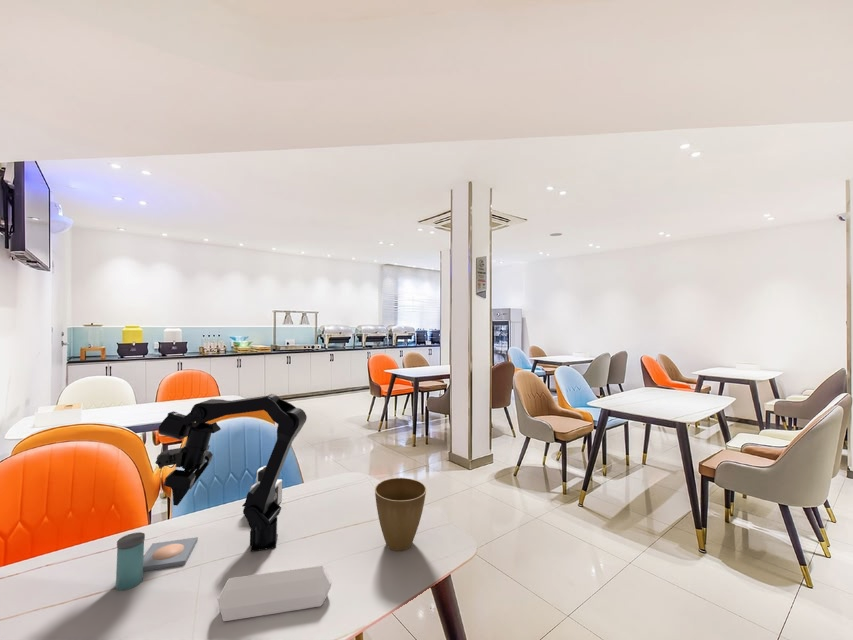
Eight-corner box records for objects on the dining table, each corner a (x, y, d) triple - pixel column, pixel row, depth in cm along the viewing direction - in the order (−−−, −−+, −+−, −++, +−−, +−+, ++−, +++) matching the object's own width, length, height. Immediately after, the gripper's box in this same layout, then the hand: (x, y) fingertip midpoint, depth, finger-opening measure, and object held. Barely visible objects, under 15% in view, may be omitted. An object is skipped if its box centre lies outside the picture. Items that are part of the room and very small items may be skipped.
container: (282, 501, 129) (283, 464, 130) (270, 511, 122) (271, 472, 122) (261, 499, 130) (262, 463, 130) (249, 510, 122) (250, 471, 123)
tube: (146, 573, 90) (148, 531, 90) (137, 588, 85) (139, 542, 86) (121, 577, 89) (123, 534, 89) (110, 592, 84) (112, 546, 84)
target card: (197, 540, 104) (197, 536, 104) (185, 564, 94) (185, 560, 94) (152, 547, 101) (152, 543, 101) (134, 572, 91) (134, 568, 91)
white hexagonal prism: (332, 563, 90) (225, 577, 84) (332, 564, 84) (217, 579, 78) (331, 600, 86) (219, 618, 80) (331, 604, 80) (210, 623, 74)
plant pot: (364, 554, 100) (366, 495, 100) (385, 526, 114) (386, 475, 114) (416, 564, 96) (417, 503, 96) (431, 534, 110) (431, 481, 110)
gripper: (179, 427, 111) (166, 477, 111) (149, 451, 93) (133, 511, 93) (218, 434, 114) (205, 482, 114) (197, 458, 96) (181, 516, 96)
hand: (182, 496), depth 104 cm, fingers open, 9 cm apart
